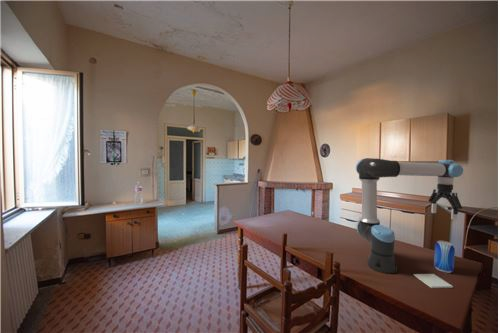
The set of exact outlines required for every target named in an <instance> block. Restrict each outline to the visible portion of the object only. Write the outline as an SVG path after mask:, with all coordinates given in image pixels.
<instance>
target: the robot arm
mask: <svg viewBox="0 0 500 333" xmlns="http://www.w3.org/2000/svg"><path fill="white" fill-rule="evenodd" d="M355 171H356V172H357V174H358V179H359V180H360V181H361V217H360V218H359V221H358V223H357V224H356V231H357V233H358V234H359V236H361V237H362V238H363V239H364V240H366V241H367V242H368V243H370V252H369V255H368V258H367V260H366V264H367V266H368V267H369V268H370V269H371V270H374V271H376V272H380V273H383V274H394V273H397V271H398V266H397V263H396V260H395V239H396V236H395V232H394V230H393V229H392V228H390V227H388V226H385V225H381V221H380V219H379V218H378V187H377V186H378V184H377V183H378V181H379V180H380V178H397V177H399V176H406V177H407V176H413V177H414V176H415V177H417V176H418V177H419V176H420V177H421V176H422V177H437V185H436V189H435V188H434V189H433V190H432V193H431V195H430V197H429V198H428V199H427V200H428V202H429V203H430V207H431V213H432V214H436V213H437V208H438V207H437V206H438V205H437V204H438V203H437V202H438V201H439V200H440V199H441V198H443V199H446V200H447V201H448V202H449V205H450V206H451V207H452V208H451V212H450V214H451V215H450V216H451V217H450V219H451V220H457V219H458V218H457V217H458V214H459V210H461V209H463V207H462V204H461V202H460V199H459V197H458V192H452V191H453V190H454V178H459V177H461V176H462V175H463V174H464V168H463V166H462V165H461V164H458V163H455V160H453V159H439V160H438V162H399V161H397V160H390V159H389V160H388V159H382V158H372V157H367V158H361V159H360V160H358V161H357V163H356V164H355Z"/></svg>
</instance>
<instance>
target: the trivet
mask: <svg viewBox="0 0 500 333" xmlns="http://www.w3.org/2000/svg"><path fill="white" fill-rule="evenodd" d="M413 276H414V277H416V278H417V279H418V280H420V281H421V282H422V283H424V284H425V285H427V286H428V287H429V288H431V289H453V288H454V286H453V285H452V284H450V283H449V282H447V281H446V280H444V279H443V278H441V277H439V276H438V275H436V274H435V273H414V274H413Z"/></svg>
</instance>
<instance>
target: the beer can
mask: <svg viewBox="0 0 500 333" xmlns="http://www.w3.org/2000/svg"><path fill="white" fill-rule="evenodd" d="M455 249H456V248H455V247H454V245H453V243H451V242H449V241H445V240H437V241H436V243H435V244H434V256H433V257H434V258H433V261H434V262H433V266H434V267H435V269H436V270H437V271H440V272H442V273H445V274H450V273H452V272H454V268H455V251H456V250H455Z"/></svg>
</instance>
